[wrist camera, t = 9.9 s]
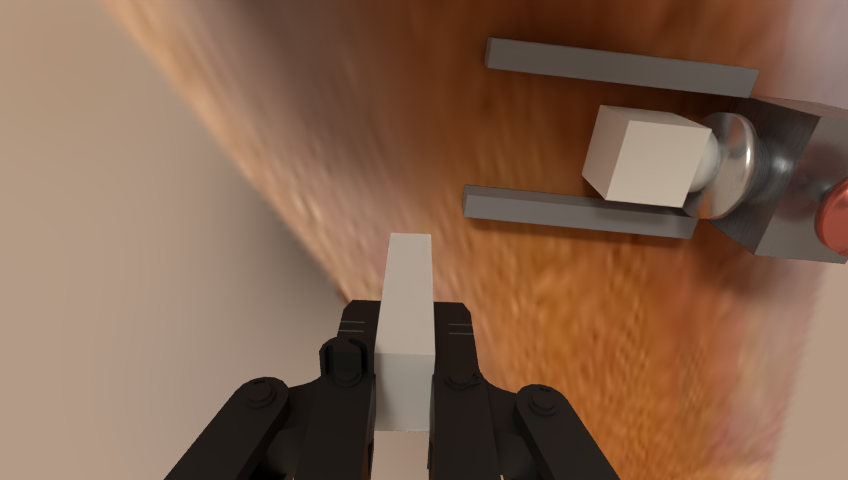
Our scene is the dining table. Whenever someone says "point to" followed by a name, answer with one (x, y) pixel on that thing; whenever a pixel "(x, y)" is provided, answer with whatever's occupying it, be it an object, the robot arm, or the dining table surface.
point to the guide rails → (605, 69)
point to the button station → (779, 178)
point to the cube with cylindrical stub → (648, 156)
